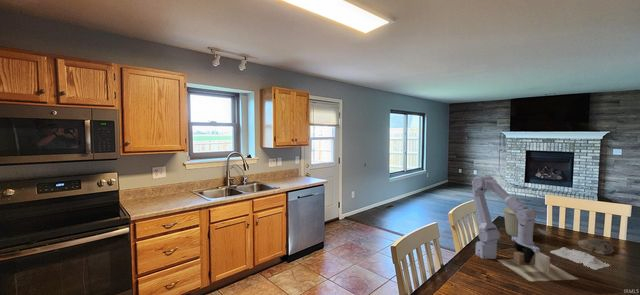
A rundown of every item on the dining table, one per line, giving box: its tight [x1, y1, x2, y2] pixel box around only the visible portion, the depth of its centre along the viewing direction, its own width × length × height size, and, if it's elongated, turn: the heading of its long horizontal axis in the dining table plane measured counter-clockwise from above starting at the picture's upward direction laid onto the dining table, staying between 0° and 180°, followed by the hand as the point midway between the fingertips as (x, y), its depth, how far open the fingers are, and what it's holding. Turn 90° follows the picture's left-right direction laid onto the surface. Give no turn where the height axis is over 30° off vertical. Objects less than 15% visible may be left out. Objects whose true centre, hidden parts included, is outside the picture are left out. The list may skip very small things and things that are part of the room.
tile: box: [534, 251, 551, 274], centre depth 135 cm, size 2×7×8 cm, turn 3°
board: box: [497, 258, 579, 282], centre depth 136 cm, size 24×21×1 cm
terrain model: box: [549, 246, 611, 271], centre depth 149 cm, size 17×23×5 cm
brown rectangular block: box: [513, 251, 536, 265], centre depth 134 cm, size 8×4×5 cm, turn 94°
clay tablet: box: [577, 237, 615, 256], centre depth 162 cm, size 14×5×20 cm
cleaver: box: [536, 228, 571, 240], centre depth 189 cm, size 29×1×10 cm
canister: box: [502, 206, 538, 238], centre depth 181 cm, size 18×18×21 cm
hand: (524, 260), depth 134 cm, fingers closed on brown rectangular block, 3 cm apart
